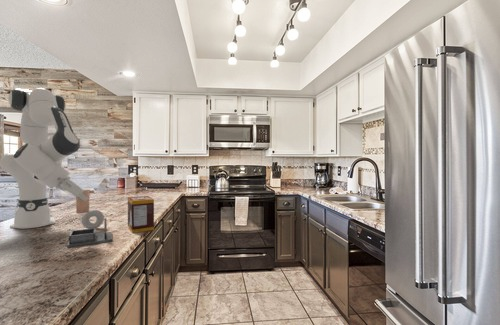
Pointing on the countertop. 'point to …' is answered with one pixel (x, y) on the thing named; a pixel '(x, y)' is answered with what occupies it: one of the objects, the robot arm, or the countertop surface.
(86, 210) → the wooden block
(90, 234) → the grey tape dispenser
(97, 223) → the grey ring
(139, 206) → the supplement box
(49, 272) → the countertop surface
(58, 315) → the countertop surface
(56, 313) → the countertop surface
